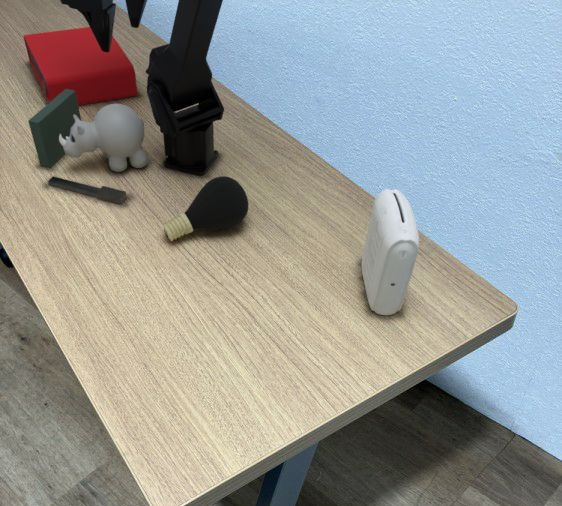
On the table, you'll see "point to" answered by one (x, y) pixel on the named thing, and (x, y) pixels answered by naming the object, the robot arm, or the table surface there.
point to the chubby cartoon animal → (109, 137)
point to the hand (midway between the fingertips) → (120, 39)
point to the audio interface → (80, 66)
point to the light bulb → (211, 209)
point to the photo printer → (389, 252)
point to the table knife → (90, 190)
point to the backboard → (54, 126)
